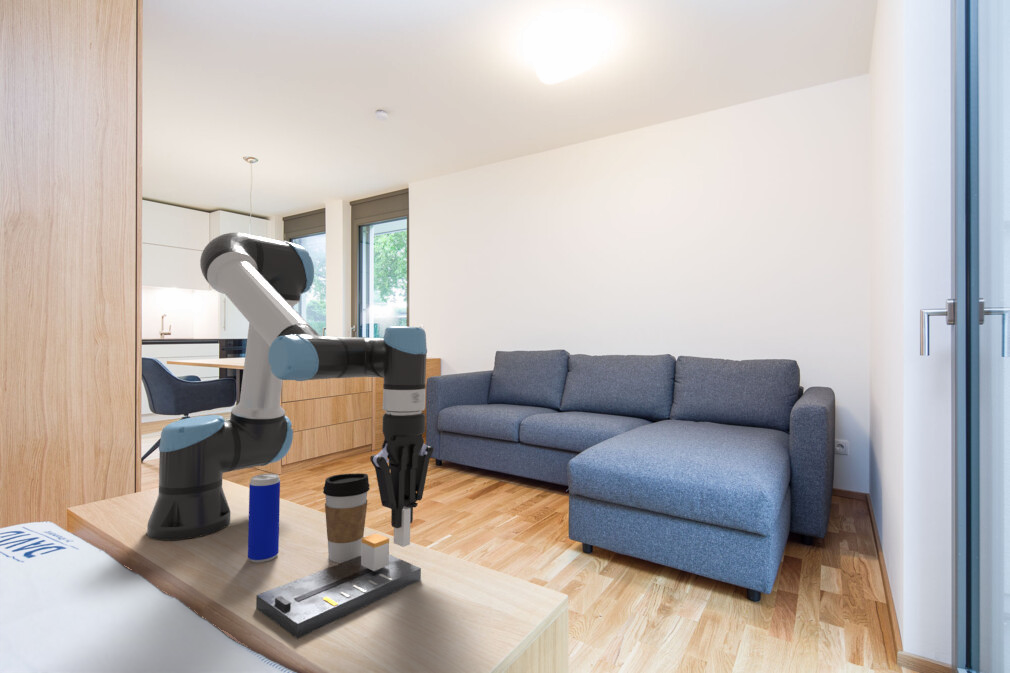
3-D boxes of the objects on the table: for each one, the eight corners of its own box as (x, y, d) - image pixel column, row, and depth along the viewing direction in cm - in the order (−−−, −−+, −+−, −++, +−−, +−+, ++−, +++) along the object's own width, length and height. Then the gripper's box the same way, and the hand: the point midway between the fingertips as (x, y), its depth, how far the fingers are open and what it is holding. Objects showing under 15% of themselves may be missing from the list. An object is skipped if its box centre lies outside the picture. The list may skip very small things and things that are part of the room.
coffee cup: (354, 568, 88) (356, 483, 88) (312, 563, 89) (314, 480, 90) (376, 549, 96) (377, 472, 96) (336, 545, 98) (338, 469, 98)
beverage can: (284, 555, 93) (286, 475, 93) (260, 565, 88) (262, 481, 88) (265, 549, 95) (267, 472, 95) (241, 560, 90) (243, 478, 91)
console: (256, 608, 74) (256, 589, 74) (377, 560, 91) (377, 544, 91) (297, 638, 66) (297, 617, 66) (420, 580, 83) (420, 563, 84)
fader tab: (361, 564, 83) (361, 538, 83) (375, 559, 86) (376, 533, 86) (374, 571, 81) (374, 543, 81) (388, 565, 83) (389, 538, 84)
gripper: (388, 417, 81) (385, 561, 81) (444, 410, 91) (442, 538, 91) (361, 413, 86) (358, 549, 85) (417, 407, 96) (415, 528, 95)
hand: (401, 543), depth 88 cm, fingers closed
